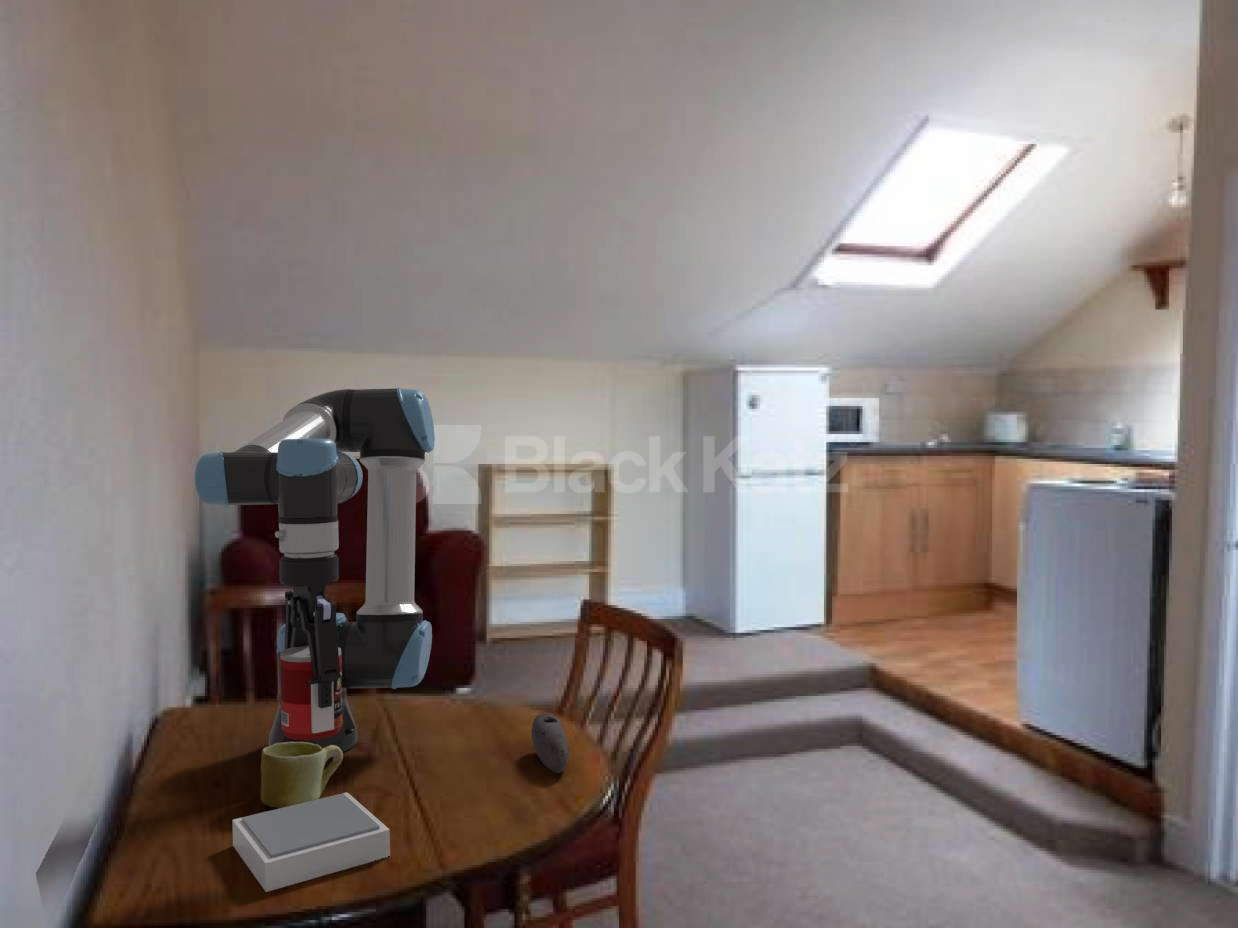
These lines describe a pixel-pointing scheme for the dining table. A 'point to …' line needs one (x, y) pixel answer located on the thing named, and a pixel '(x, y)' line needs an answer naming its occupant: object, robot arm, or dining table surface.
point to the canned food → (303, 695)
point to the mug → (296, 772)
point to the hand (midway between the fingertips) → (312, 722)
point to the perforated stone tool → (550, 742)
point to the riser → (309, 840)
